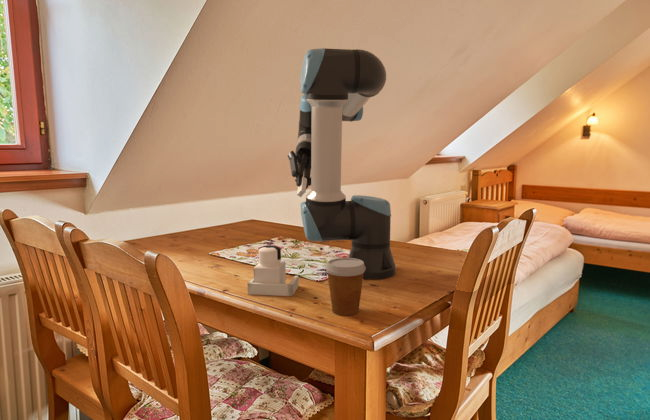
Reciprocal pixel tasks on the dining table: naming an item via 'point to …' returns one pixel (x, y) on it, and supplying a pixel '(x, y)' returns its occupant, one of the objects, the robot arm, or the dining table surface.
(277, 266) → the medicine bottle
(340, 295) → the disposable coffee cup
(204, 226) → the dining table surface
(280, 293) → the pocket
